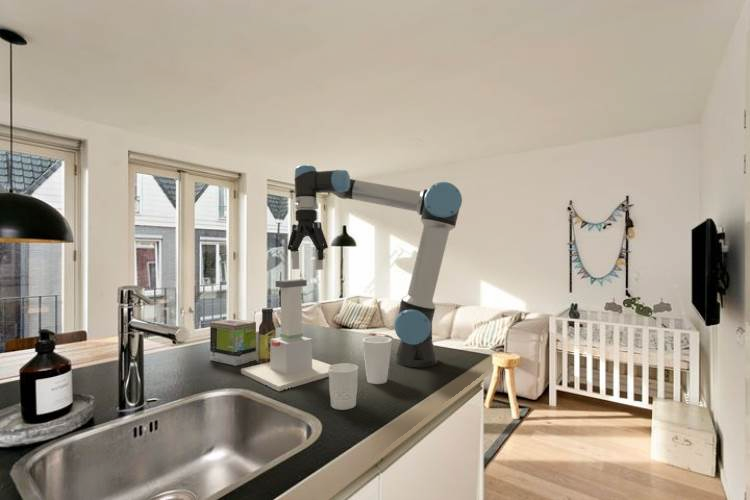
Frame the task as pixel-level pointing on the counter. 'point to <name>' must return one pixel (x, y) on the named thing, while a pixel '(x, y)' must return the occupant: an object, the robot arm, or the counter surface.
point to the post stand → (288, 365)
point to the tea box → (233, 341)
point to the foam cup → (377, 358)
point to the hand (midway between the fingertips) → (307, 269)
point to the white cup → (343, 385)
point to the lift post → (291, 309)
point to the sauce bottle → (265, 335)
